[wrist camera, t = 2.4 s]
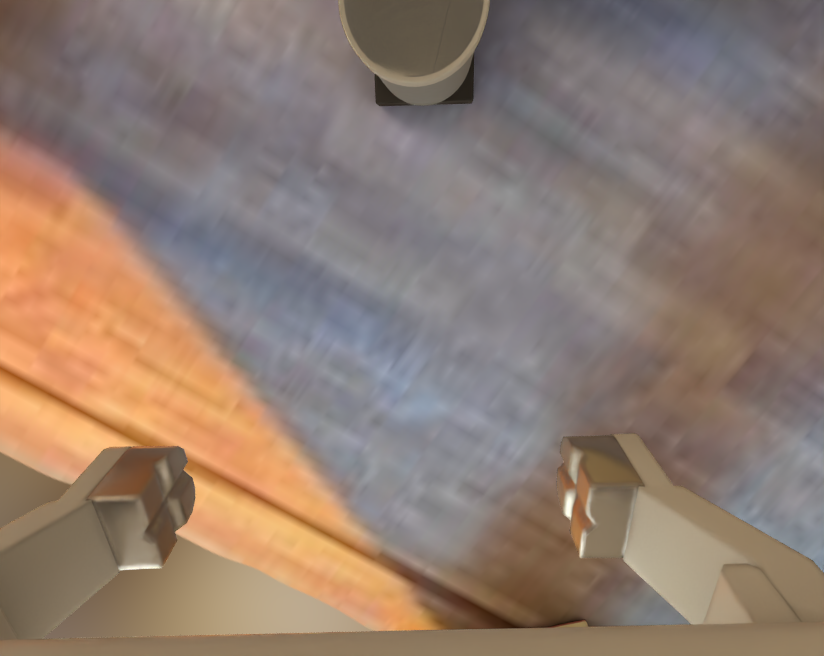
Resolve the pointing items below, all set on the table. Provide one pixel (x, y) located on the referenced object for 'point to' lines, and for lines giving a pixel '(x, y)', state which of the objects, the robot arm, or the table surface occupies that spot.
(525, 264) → the table surface
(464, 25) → the grey vase on base
